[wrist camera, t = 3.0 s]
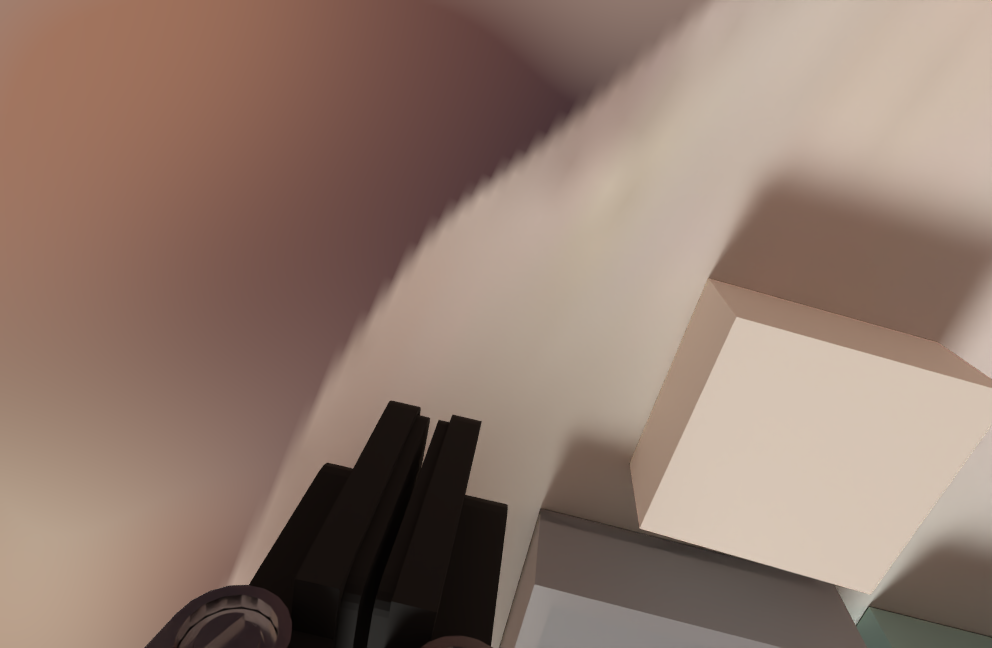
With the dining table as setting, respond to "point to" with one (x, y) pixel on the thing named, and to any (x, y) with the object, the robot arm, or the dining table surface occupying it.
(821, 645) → the tray
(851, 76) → the dining table surface
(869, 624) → the socket block
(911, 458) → the cream square tile
